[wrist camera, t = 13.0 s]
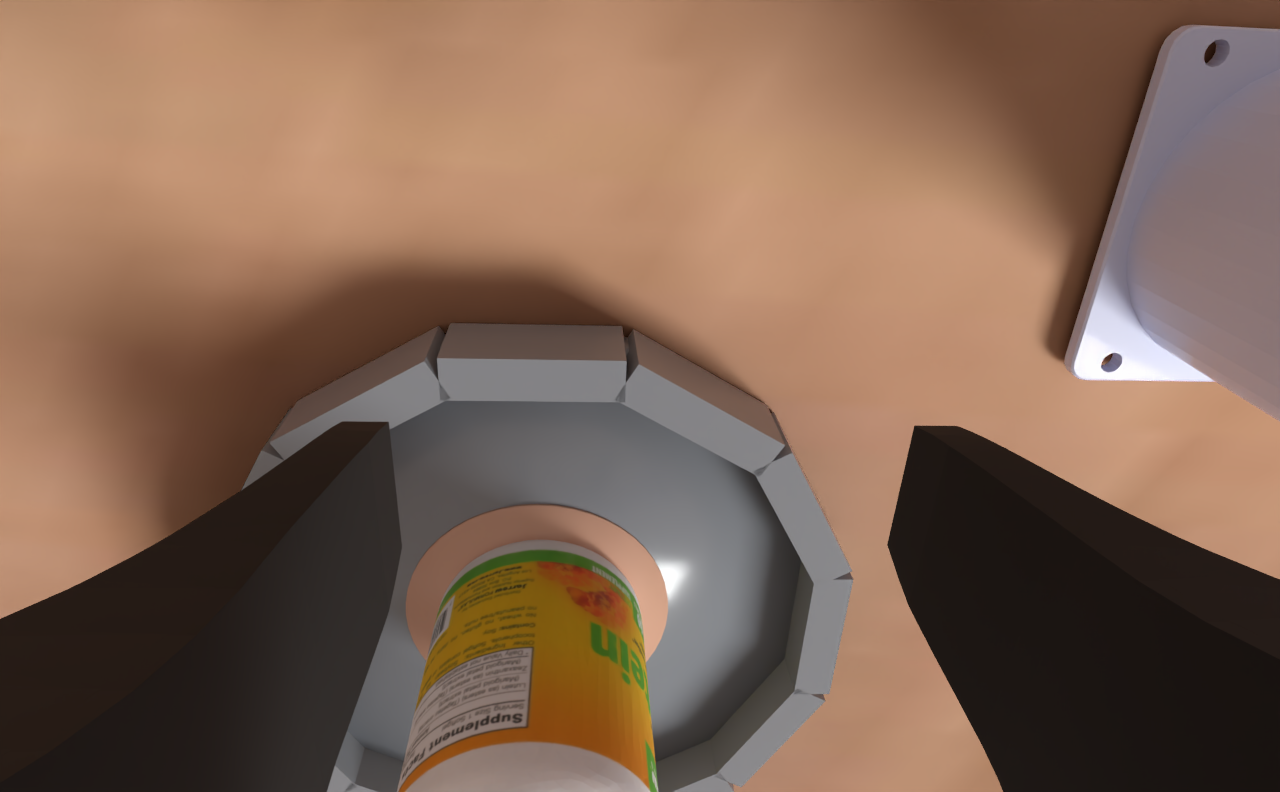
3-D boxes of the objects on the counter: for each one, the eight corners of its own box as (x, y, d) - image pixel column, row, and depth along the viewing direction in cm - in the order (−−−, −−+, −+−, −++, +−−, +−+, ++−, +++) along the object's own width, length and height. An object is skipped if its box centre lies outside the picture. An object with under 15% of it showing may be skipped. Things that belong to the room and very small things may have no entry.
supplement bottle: (671, 646, 23) (728, 1056, 14) (499, 711, 23) (451, 1140, 15) (589, 502, 20) (597, 888, 12) (400, 579, 21) (274, 998, 12)
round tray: (869, 330, 20) (898, 364, 18) (784, 778, 27) (799, 834, 25) (180, 318, 18) (138, 353, 16) (287, 792, 25) (265, 853, 24)
